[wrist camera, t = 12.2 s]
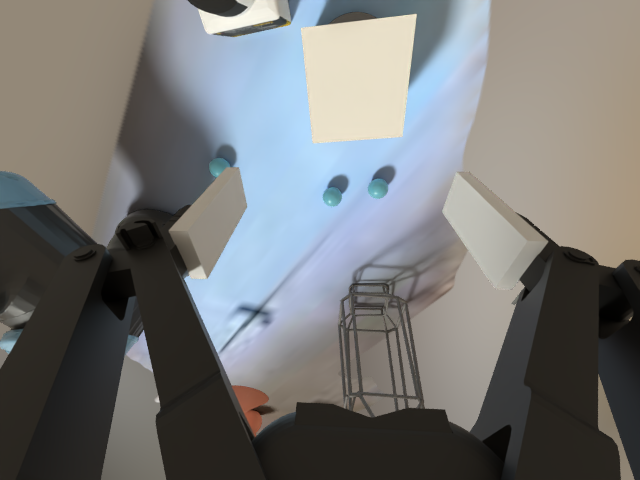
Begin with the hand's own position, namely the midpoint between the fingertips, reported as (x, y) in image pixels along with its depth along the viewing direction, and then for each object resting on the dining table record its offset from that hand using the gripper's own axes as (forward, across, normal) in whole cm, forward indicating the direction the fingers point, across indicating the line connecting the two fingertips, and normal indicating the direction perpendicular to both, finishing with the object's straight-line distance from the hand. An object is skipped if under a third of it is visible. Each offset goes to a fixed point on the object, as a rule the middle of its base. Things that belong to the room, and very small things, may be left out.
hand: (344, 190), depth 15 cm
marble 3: (+18, +7, -9) cm, 22 cm away
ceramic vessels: (+23, -33, -112) cm, 119 cm away
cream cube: (+21, +1, +4) cm, 21 cm away
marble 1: (+20, -16, -6) cm, 27 cm away
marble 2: (+20, -2, -11) cm, 23 cm away
